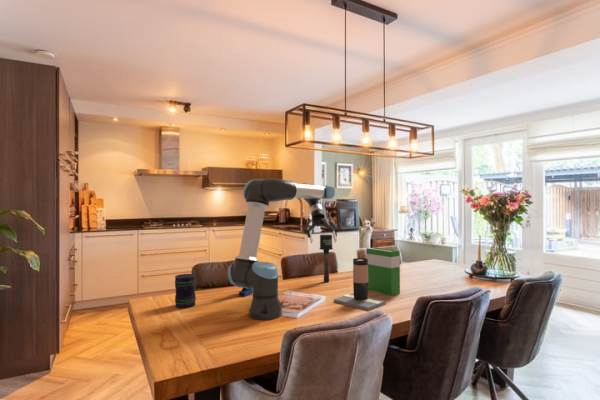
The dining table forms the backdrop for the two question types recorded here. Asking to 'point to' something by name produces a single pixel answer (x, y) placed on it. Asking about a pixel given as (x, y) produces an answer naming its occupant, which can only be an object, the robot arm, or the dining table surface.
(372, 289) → the hardback book
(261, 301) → the robot arm
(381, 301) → the grey book
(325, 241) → the potato masher grenade
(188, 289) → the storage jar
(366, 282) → the travel mug
